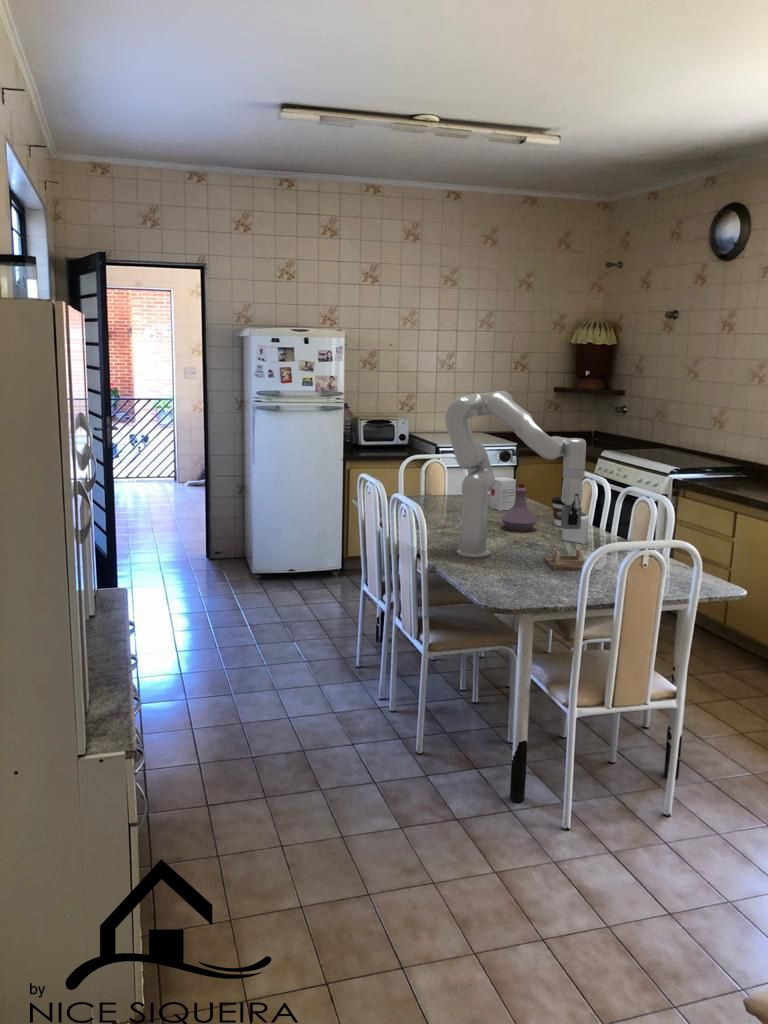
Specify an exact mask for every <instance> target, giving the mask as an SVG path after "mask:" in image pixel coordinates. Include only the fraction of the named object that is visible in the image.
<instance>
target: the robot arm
mask: <svg viewBox="0 0 768 1024" xmlns="http://www.w3.org/2000/svg"><path fill="white" fill-rule="evenodd" d="M490 415H492V416H493V417H494V418H495V419H497V420H498V421H499V422H500V423H502V424H503V425H504V426H506V427H507V428H508V429H510V430H511V431H512V432H513V433H515V435H516V436H517V437H518V438H519V439H520V440H522V442H523V443H524V444H525V445H526V446H527V447H528V448H530V449H531V450H532V451H534V452H535V453H536V454H537V455H539V456H540V457H542V458H543V459H545V460H549V461H551V460H556V459H557V458H560V457H563V463H562V464H563V465H562V467H563V468H562V478H563V480H562V488H561V495H560V497H561V501H562V502H563V503H564V504H565V505H567V506H570V514H569V517H568V525H577V521H578V509H579V506H581V505H582V502H583V501H582V499H583V479H585V471H586V457H587V456H586V455H587V453H586V452H587V442H586V440H585V439H584V438H580V437H579V438H578V437H572V438H571V437H562V436H558V435H553V436H550V435H548V433H546V432H545V431H544V430H543V429H542V428H540V427H539V426H538V425H537V424H536V422H535V420H534V419H533V416H532V414H531V413H530V412H528V411H527V410H526V409H524V408H523V407H521V406H520V405H519V404H517V403H516V402H515V401H514V398H513V397H512V395H511V394H510V393H508V392H507V391H505V390H497V391H490V392H480V393H478V392H477V393H470V394H464V395H461V396H458V397H456V398H455V399H454V400H452V402H451V403H450V404H449V405H448V407H447V409H446V412H445V417H444V418H445V419H444V421H445V427H446V430H447V433H448V436H449V440H450V444H451V447H452V449H453V450H452V451H453V453H454V455H455V456H454V458H455V460H456V463H457V464H458V466H459V467H460V468H461V469H464V470H466V471H467V475H465V477H464V478H463V480H462V483H461V499H462V504H461V505H462V509H461V512H462V513H461V514H462V515H461V518H462V519H461V535H460V537H461V538H460V540H461V541H460V547H459V548H457V549H456V554H457V555H458V556H460V557H463V558H464V557H465V558H468V559H472V558H473V559H480V558H481V559H482V558H487V557H489V556H490V555H491V551H490V550H489V549H487V539H488V538H487V535H488V514H489V513H488V511H489V502H488V492H489V493H490V490H491V489H492V488H493V486H494V482H495V479H494V478H495V476H494V475H495V473H494V470H493V468H492V464H491V461H490V458H489V456H488V452H487V450H486V449H485V446H483V445H482V444H481V443H480V442H478V441H475V437H474V434H473V431H472V429H471V426H470V424H469V419H471V418H473V417H482V416H490ZM573 504H574V505H573ZM572 507H574V508H573V509H572Z"/></svg>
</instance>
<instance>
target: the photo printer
mask: <svg viewBox="0 0 768 1024" xmlns="http://www.w3.org/2000/svg"><path fill="white" fill-rule="evenodd" d="M589 522H590V520H589V515H587V514H586V516H581V526H580V529H563V528H562V536H561V538H562V539H561V540H562V541H563V540H564V542H569V543H577V544H580V545H581V544H582V545H586V544H587V542H588V534H589Z"/></svg>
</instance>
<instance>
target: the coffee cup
mask: <svg viewBox="0 0 768 1024" xmlns="http://www.w3.org/2000/svg"><path fill="white" fill-rule="evenodd" d="M550 503H552V514H553V521H554V526H556V525H558V526H561V517H560V516H558V515H557V512H562V505H565V504H564V503H563V502H562V501H561V496H556V497H555V496H554V497H553V498H552V499H551V501H550ZM558 526H557V527H558Z"/></svg>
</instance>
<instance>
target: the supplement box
mask: <svg viewBox="0 0 768 1024" xmlns="http://www.w3.org/2000/svg"><path fill="white" fill-rule="evenodd" d="M494 479H495V482H494V486H493V488H492V489H491V490H490V491H489V504H488V508H489V507H491V508H494V509H497V510H500V511H499V512H502V511H501V510H509V509H511V508H512V507H513V506H514V503H515V500H516V489H517V487H516V485H517V479H515V478H512V477H506V476H501V477H500V476H499V477H497V476H496V477H494ZM491 508H490V509H491ZM494 509H493V510H494ZM497 510H496V511H497Z"/></svg>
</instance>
